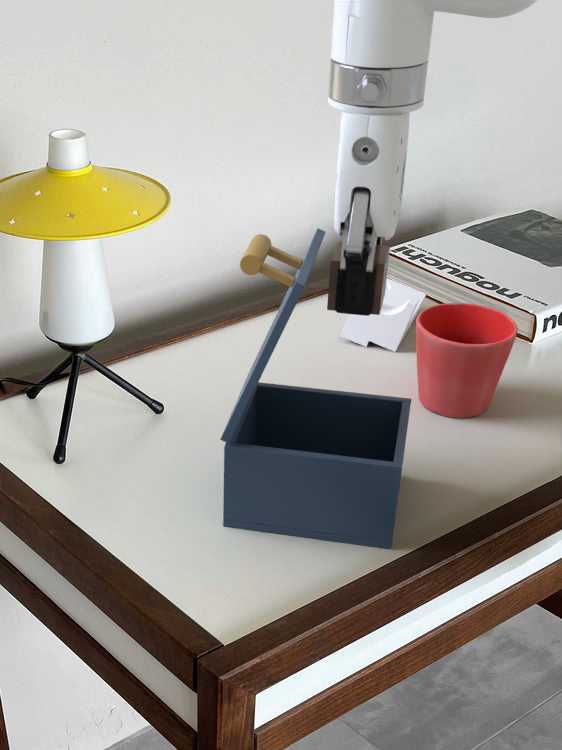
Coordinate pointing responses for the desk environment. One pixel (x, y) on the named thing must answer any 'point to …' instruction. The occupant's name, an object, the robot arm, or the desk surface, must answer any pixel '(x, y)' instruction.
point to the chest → (316, 464)
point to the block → (379, 266)
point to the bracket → (386, 318)
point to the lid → (251, 266)
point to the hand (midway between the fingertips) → (357, 298)
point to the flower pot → (461, 356)
